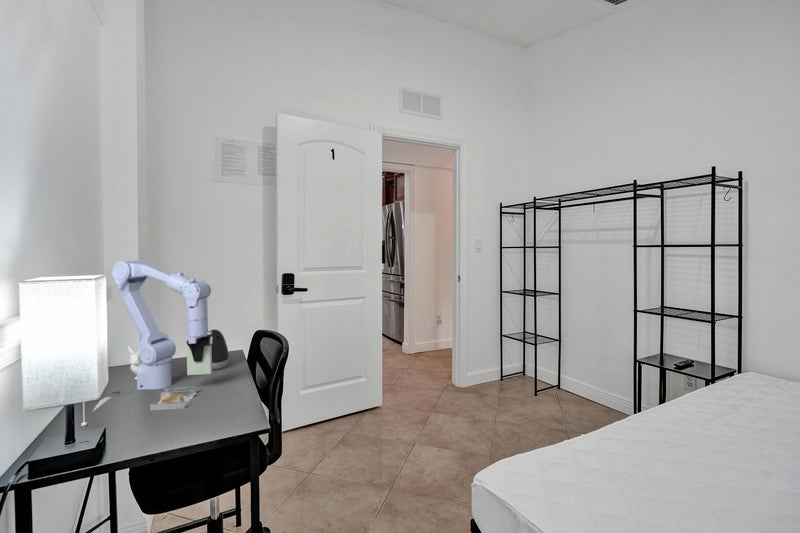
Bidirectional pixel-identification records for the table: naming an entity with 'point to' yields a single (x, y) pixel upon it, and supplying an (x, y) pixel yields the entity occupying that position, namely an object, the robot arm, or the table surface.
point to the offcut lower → (173, 402)
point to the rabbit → (134, 360)
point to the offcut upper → (171, 398)
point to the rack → (184, 391)
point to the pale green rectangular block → (202, 366)
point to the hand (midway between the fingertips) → (199, 360)
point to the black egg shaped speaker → (218, 350)
